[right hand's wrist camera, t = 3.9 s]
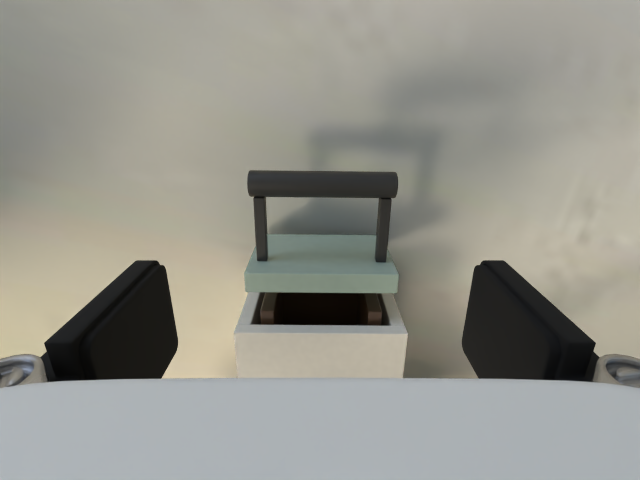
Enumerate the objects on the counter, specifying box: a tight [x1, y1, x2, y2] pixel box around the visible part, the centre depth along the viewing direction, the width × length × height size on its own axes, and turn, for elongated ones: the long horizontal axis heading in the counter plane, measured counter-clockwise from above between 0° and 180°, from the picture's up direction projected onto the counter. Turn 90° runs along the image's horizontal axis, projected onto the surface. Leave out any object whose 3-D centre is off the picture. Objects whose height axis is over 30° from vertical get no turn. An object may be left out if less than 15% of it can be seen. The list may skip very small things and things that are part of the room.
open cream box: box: [234, 292, 408, 378], centre depth 26 cm, size 14×10×8 cm
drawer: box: [244, 170, 399, 326], centre depth 24 cm, size 18×8×6 cm, turn 179°
